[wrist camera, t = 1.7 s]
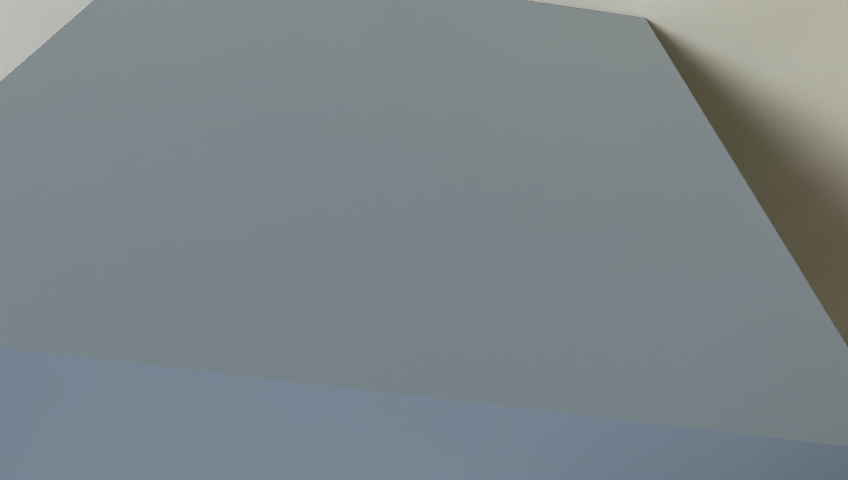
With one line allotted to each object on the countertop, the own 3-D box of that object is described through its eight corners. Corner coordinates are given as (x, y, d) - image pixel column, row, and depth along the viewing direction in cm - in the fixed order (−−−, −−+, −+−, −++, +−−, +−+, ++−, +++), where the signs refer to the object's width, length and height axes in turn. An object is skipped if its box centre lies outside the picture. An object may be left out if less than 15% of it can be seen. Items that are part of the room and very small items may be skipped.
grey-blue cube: (538, 368, 17) (607, 871, 10) (174, 325, 17) (-36, 818, 9) (645, 18, 13) (913, 455, 5) (156, -55, 12) (-269, 317, 5)
